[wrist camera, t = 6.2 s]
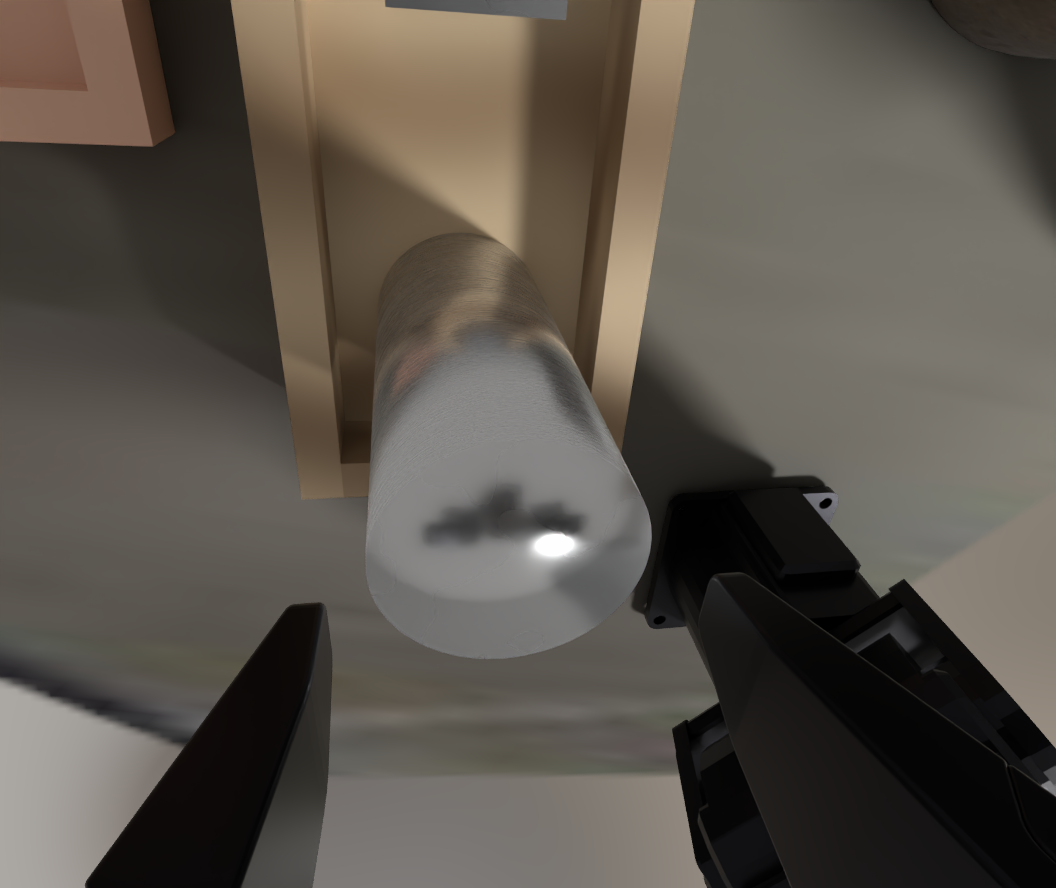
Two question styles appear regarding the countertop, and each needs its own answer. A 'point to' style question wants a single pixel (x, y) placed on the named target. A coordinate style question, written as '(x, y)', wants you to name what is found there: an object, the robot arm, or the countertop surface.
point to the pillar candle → (1005, 24)
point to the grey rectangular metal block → (490, 7)
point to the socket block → (453, 181)
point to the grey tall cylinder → (490, 464)
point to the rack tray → (81, 73)
